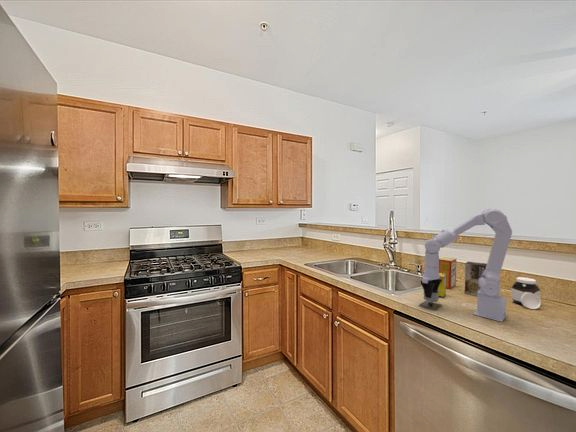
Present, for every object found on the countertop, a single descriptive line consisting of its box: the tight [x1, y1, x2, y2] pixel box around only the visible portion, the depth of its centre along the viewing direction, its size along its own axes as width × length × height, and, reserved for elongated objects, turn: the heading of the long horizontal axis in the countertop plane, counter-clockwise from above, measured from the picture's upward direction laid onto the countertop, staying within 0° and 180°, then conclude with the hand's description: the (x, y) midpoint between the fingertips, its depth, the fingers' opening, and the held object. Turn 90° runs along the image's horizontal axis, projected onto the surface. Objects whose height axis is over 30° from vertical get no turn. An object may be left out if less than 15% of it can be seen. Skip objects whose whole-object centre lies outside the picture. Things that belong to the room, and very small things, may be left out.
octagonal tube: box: [423, 290, 439, 303], centre depth 121 cm, size 5×5×4 cm
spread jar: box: [510, 276, 542, 310], centre depth 123 cm, size 12×11×12 cm
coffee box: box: [464, 261, 487, 297], centre depth 138 cm, size 9×6×16 cm
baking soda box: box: [439, 256, 457, 291], centre depth 151 cm, size 10×6×16 cm
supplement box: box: [438, 273, 447, 299], centre depth 136 cm, size 6×6×11 cm
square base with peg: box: [418, 300, 443, 311], centre depth 121 cm, size 7×7×4 cm
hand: (430, 296), depth 121 cm, fingers closed on octagonal tube, 5 cm apart
